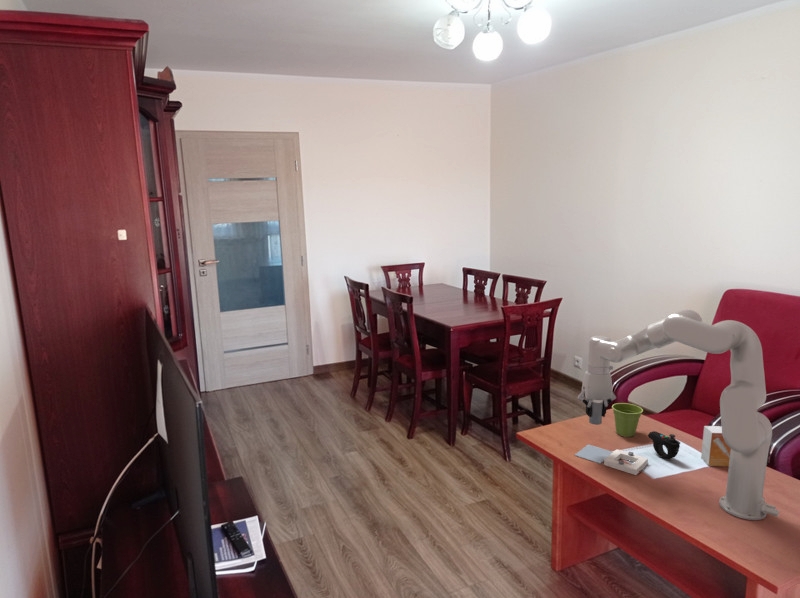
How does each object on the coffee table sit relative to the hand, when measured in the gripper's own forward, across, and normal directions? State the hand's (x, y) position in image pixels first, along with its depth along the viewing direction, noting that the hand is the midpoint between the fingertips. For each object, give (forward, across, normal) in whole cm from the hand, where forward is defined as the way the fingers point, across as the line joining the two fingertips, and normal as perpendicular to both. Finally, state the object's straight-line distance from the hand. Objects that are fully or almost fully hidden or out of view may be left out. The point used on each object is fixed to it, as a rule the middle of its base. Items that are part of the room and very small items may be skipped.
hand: (595, 415), depth 203 cm
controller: (+16, -25, +4) cm, 30 cm away
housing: (+16, -9, +9) cm, 20 cm away
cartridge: (+3, 0, 0) cm, 3 cm away
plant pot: (+16, -20, -17) cm, 31 cm away
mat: (+16, 0, 0) cm, 16 cm away
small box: (+16, -42, +9) cm, 46 cm away
